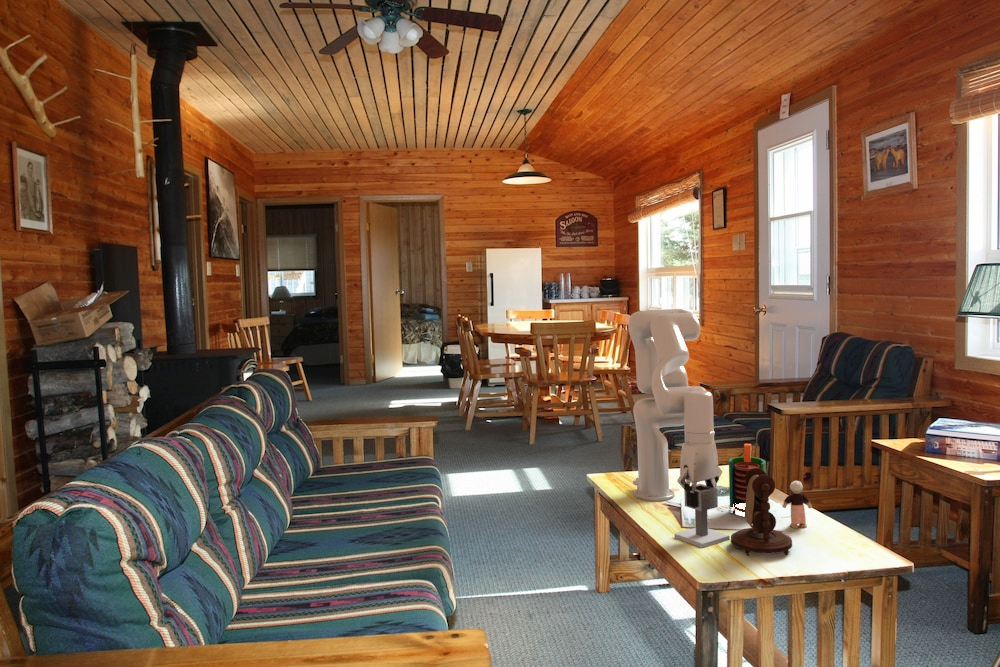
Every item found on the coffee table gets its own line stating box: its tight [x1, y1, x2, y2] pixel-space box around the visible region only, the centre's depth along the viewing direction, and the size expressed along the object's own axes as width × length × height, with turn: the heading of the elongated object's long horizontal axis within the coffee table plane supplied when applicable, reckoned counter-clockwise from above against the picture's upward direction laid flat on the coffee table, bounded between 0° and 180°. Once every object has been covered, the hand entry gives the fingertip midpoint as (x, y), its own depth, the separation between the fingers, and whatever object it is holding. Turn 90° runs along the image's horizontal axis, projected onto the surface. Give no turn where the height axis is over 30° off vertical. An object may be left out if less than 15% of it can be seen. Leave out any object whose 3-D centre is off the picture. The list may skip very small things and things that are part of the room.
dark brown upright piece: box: [730, 468, 793, 557], centre depth 190 cm, size 15×15×20 cm
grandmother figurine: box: [781, 480, 813, 529], centre depth 205 cm, size 8×4×13 cm, turn 97°
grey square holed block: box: [683, 483, 719, 511], centre depth 199 cm, size 6×6×5 cm
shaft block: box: [674, 509, 731, 548], centre depth 199 cm, size 10×10×10 cm
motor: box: [728, 443, 767, 512], centre depth 218 cm, size 10×9×20 cm
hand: (700, 503), depth 199 cm, fingers closed on grey square holed block, 6 cm apart
